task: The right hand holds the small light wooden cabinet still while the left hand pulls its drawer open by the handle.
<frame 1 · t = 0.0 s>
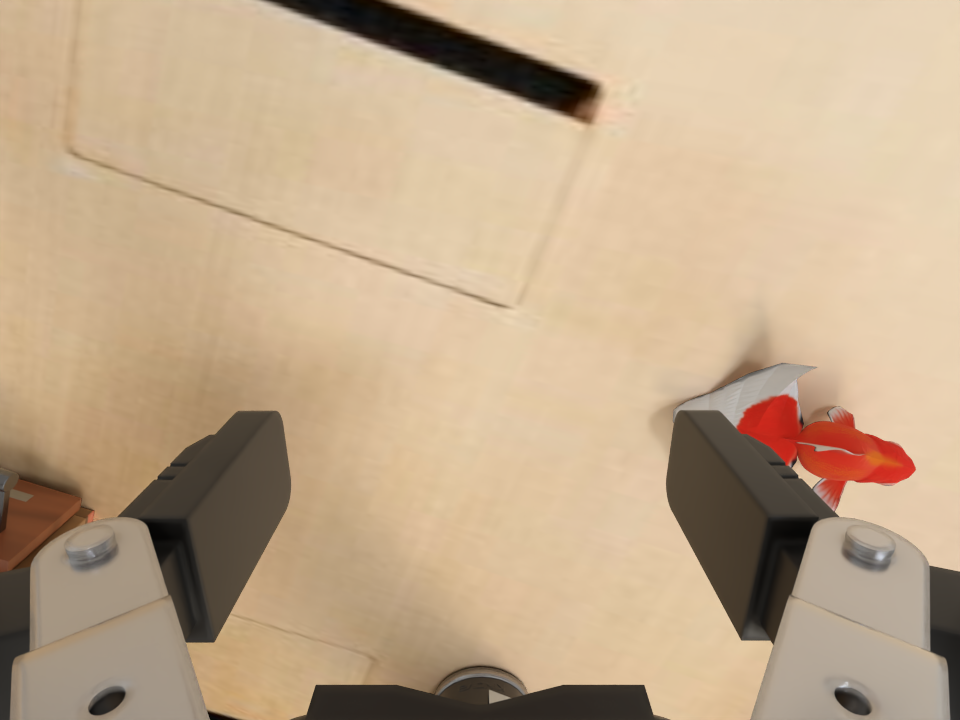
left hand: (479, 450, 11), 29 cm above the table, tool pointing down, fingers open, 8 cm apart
cabinet: (19, 573, 49), on the table
fish: (759, 418, 44), on the table
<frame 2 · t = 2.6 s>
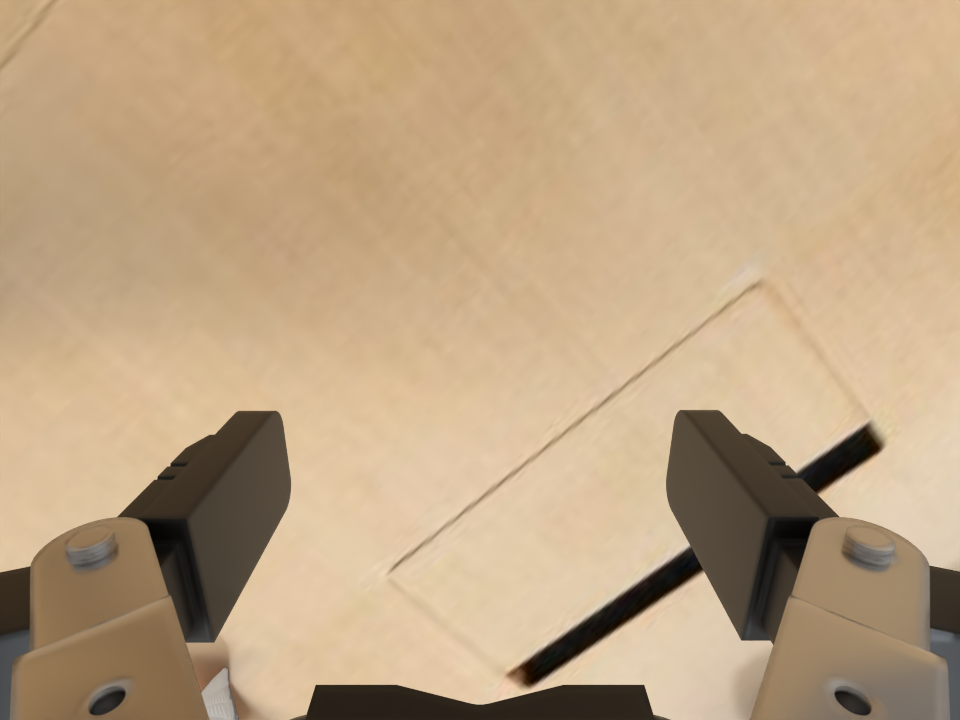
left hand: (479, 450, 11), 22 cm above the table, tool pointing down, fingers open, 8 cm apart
fish: (185, 707, 45), on the table
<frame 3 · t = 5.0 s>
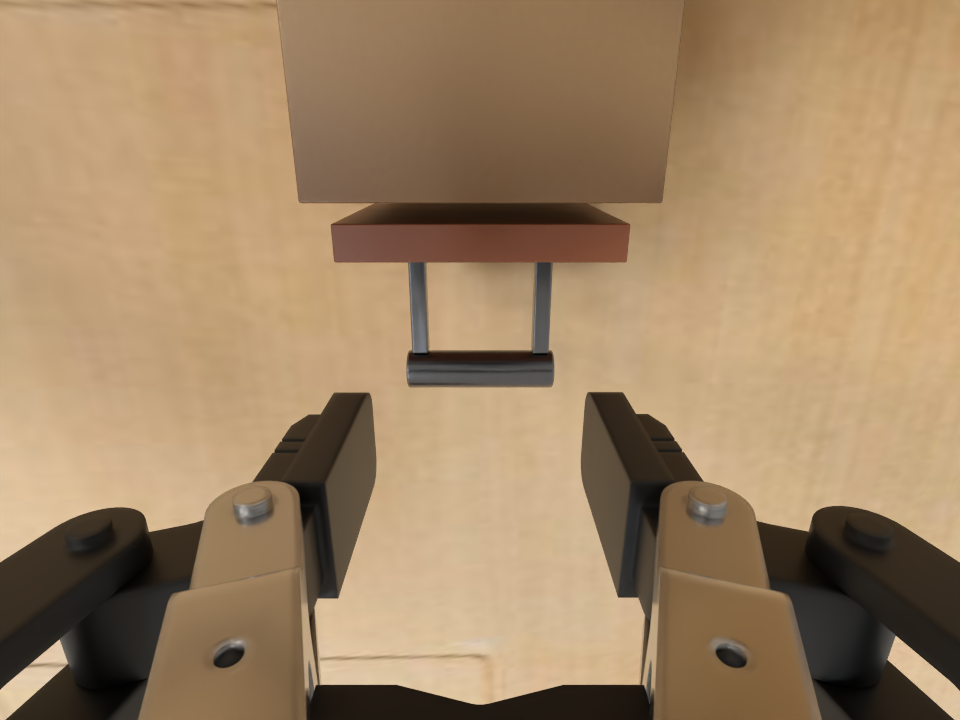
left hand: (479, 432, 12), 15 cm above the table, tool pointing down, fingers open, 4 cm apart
drawer: (480, 69, 19), point 5 cm above the table, slide at 0.7 cm
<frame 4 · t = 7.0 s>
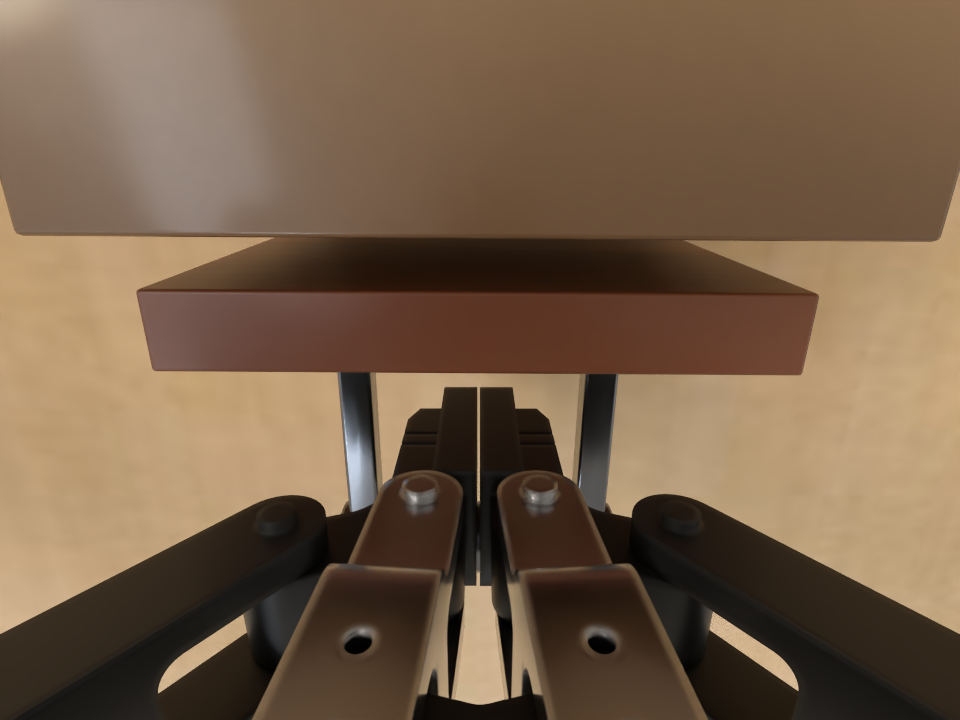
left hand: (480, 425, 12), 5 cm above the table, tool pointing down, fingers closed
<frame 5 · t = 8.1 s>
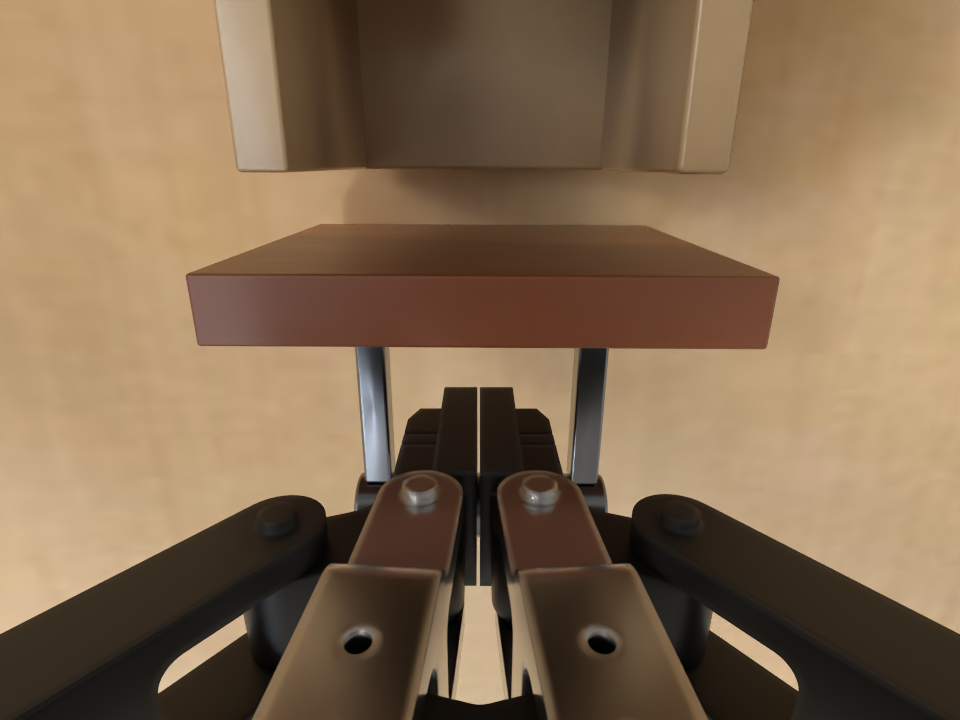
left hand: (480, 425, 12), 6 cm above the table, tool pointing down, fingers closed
when the right hand's fingers open (4 cm above the table, at t = 9.5 s): cabinet stays where it is, on the table.
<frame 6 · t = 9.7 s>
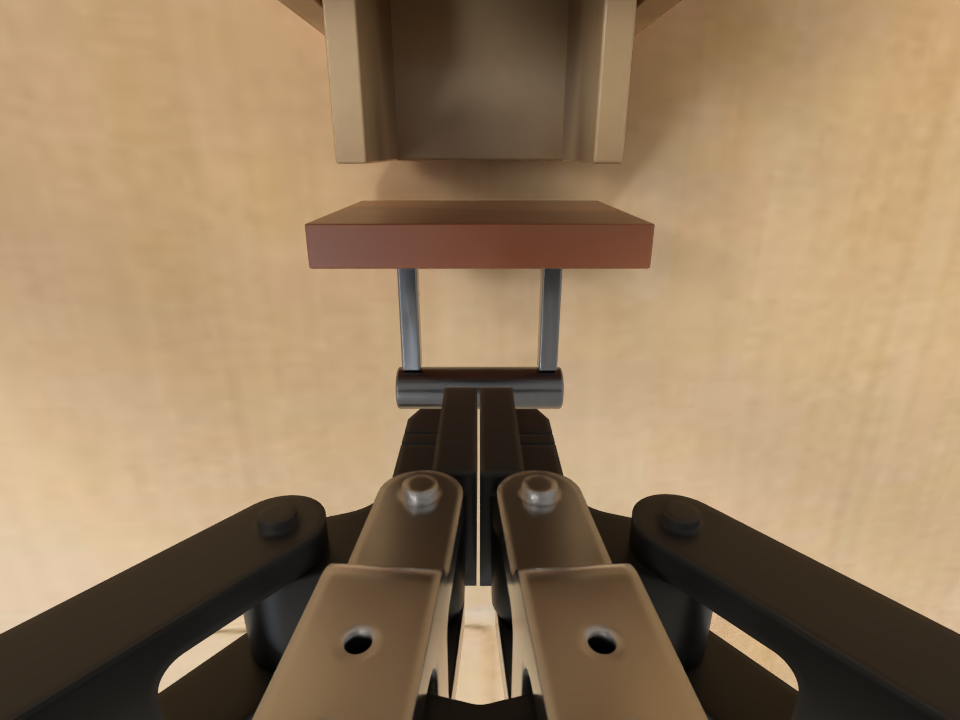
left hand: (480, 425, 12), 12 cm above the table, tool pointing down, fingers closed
drawer: (479, 45, 16), point 5 cm above the table, slide at 5.4 cm
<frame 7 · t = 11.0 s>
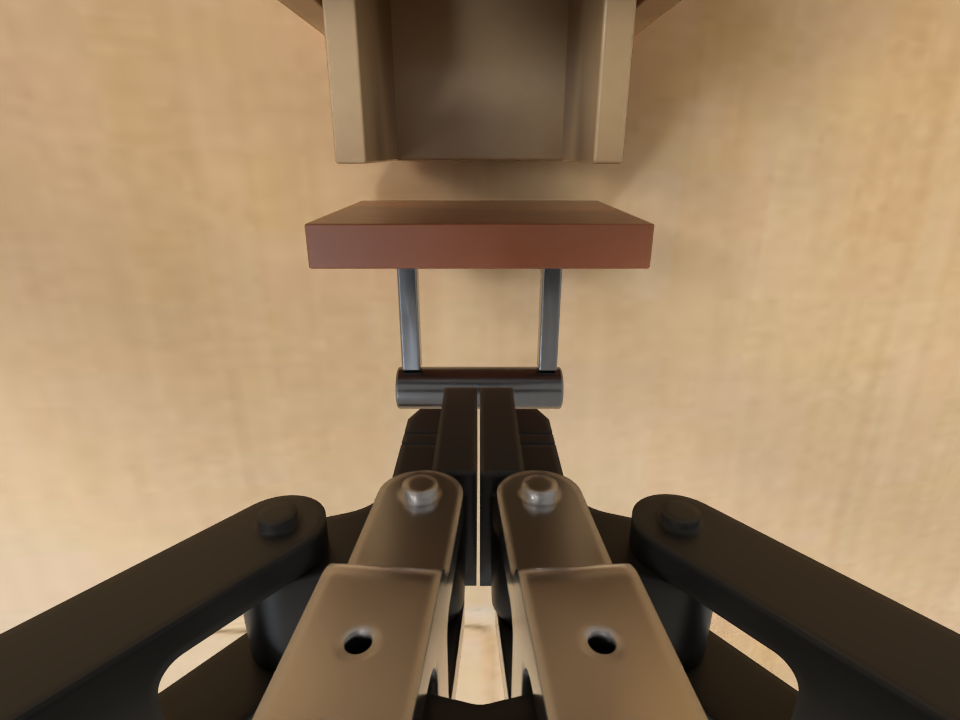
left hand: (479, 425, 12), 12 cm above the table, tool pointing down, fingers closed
drawer: (479, 45, 16), point 5 cm above the table, slide at 5.4 cm
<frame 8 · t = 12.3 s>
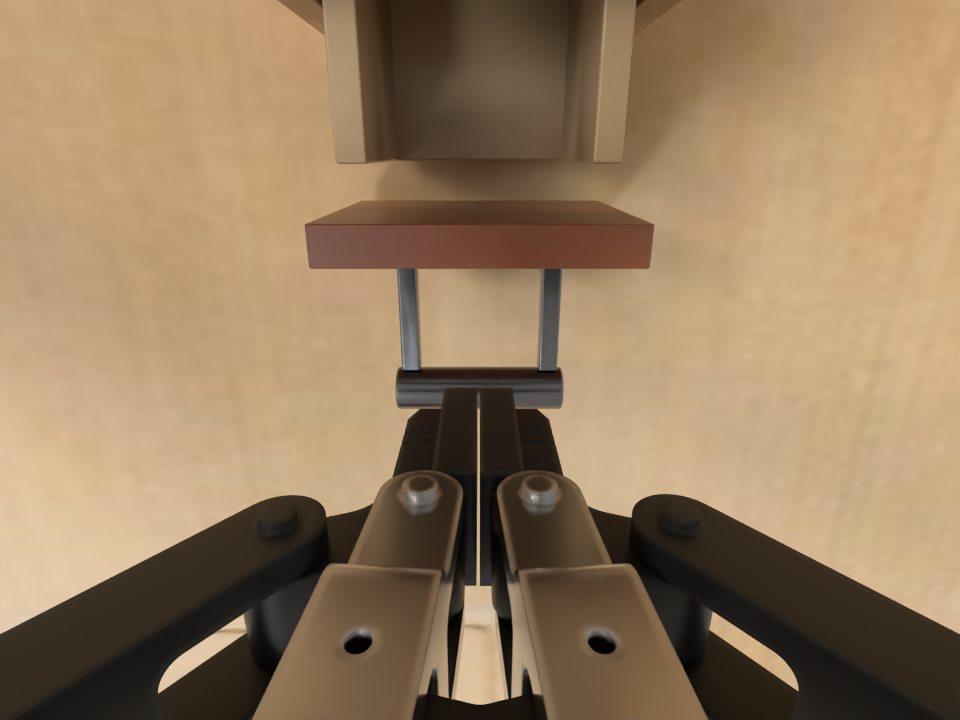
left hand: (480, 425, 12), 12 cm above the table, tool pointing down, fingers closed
drawer: (479, 46, 16), point 5 cm above the table, slide at 5.4 cm
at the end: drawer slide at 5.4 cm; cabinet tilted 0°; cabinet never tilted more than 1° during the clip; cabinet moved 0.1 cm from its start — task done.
